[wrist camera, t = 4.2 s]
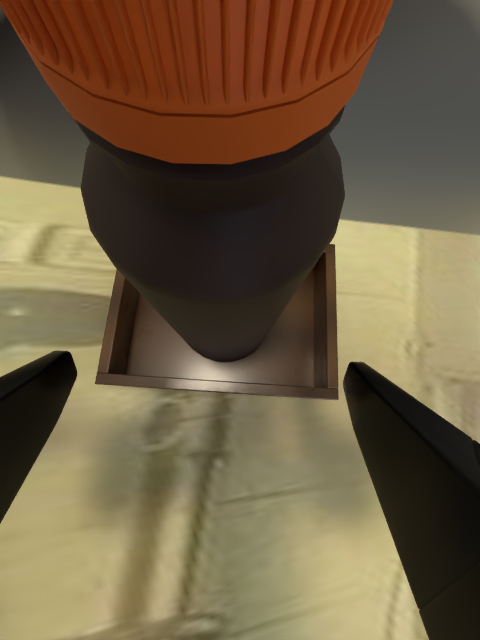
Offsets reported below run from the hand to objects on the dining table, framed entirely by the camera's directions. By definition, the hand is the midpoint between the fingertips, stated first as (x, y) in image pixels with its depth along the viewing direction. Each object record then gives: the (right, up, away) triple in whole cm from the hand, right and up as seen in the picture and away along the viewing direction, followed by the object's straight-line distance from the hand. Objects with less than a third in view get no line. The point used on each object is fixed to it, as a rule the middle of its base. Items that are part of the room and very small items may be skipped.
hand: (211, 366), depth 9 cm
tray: (0, +1, +13) cm, 13 cm away
